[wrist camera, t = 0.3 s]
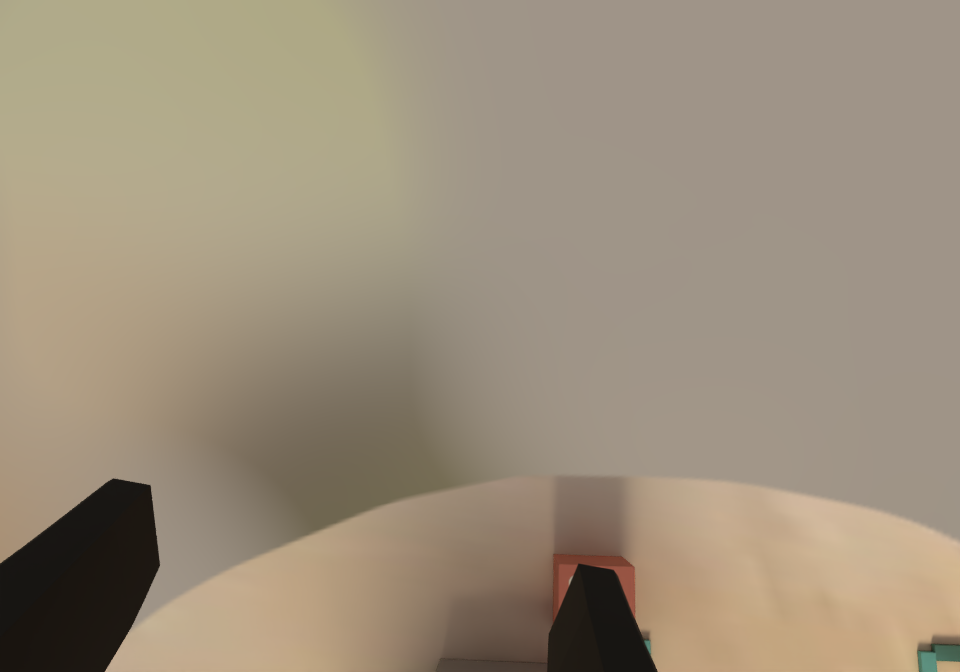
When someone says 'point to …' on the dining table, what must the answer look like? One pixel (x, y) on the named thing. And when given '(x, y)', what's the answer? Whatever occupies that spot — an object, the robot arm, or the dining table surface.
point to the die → (569, 563)
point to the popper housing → (488, 666)
